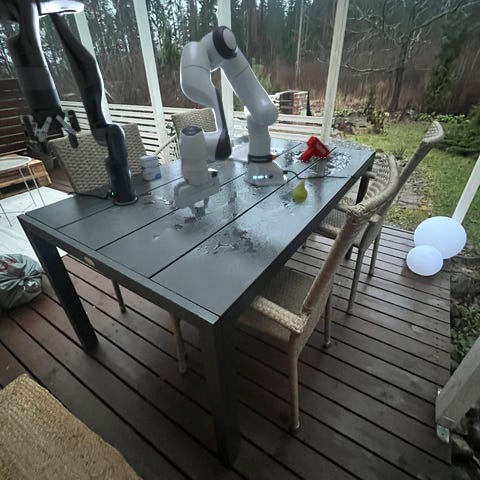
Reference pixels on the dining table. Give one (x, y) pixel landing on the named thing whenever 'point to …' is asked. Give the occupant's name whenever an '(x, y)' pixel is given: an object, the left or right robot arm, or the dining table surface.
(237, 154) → the relief map
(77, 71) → the left robot arm
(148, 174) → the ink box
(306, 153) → the toy gun
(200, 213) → the tin
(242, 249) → the dining table surface
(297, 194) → the fruit
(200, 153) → the right robot arm
